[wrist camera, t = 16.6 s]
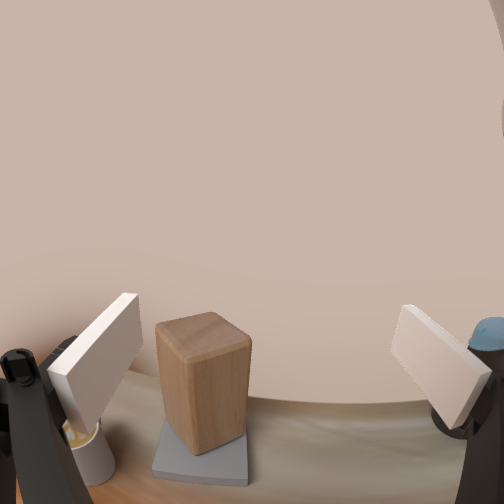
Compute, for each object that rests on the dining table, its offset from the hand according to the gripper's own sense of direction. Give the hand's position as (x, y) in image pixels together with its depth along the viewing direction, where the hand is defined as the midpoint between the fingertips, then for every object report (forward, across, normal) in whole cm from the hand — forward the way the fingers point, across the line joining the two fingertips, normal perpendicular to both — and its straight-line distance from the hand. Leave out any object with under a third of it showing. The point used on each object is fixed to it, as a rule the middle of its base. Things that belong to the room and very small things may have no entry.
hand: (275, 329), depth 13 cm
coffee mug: (+11, -24, -34) cm, 44 cm away
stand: (+17, -7, -34) cm, 39 cm away
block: (+21, -7, -32) cm, 39 cm away
